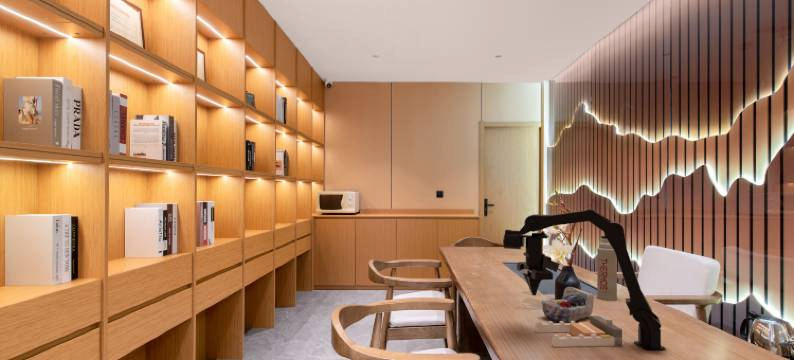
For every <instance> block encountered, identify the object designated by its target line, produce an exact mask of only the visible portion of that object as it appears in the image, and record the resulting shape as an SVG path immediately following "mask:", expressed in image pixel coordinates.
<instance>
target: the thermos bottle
mask: <svg viewBox="0 0 794 360" xmlns="http://www.w3.org/2000/svg"><path fill="white" fill-rule="evenodd" d="M600 238H601V239H600V241H599V243H598V247H597V249H596V251H597V253H596V256H597V257H596V258H597V260H596V261H597V264H596V265H597V266H596V268H597V269H596V271H597V273H596V274H597V283H596V286H597V287H596V289H597V292H596V293H597V294H596V295H597V299H599V300H603V301H617V300H618V259H617V256H616V253H615V251H614V249H613V248H612V246H611V245H610V243H609V241H608V239H607V237H606V236H605V235H601V236H600Z"/></svg>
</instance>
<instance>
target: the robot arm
mask: <svg viewBox="0 0 794 360" xmlns="http://www.w3.org/2000/svg"><path fill="white" fill-rule="evenodd" d="M584 222H589V223H591V224H592V225H594V226H595V227H597V228H598V229H599V230H601V232H603V233H604V236H606V237H607V239H608V241H609V243H610V245H611V246H612V248H613V249H614V251H615V253H616V256H617V263H618V264H619V268H620V270H621V273H622V278H623V280H624V283H625V285H626V288H627V292H628V294H629V296H628V297H629V298H625V305H626V306H627V308H628V310H629V311H628V312H629V316H632V318H633V320H635V322H637V323H638V325H637V326H638V328H637V336H638V337H637V341H636V340H634V341H633V344H635V345H636V346H639V347H640V348H642V349H644V350H645V351H661V350H663V351H664V350H665V351H666V350H667V348H666V347H665V346H663V345H662V330H661V328H662V324H661V320H660V318H659V316H657V315H656V313H655V312H653V309H652V306H651V305H650V303H649V300H648V299H647V297H646V296H645V294H644V293H643V291H642V288H641V286H640V284H639V279H638V277H637V275H636V274H637V273H636V272H635V269H634V268H635V267H634V265H633V262H632V260H631V257H630V254H629V252H628V249H627V243H626V242H627V241H626V235H625V228H624V226H623V224H621V223H620V222H618V221H616V220H615V221H611V220H610V219H608V218H607V217H606V216H603V215H602V214H600V213H598V212H597V211H596V209H593V208H589V209H587V210H586V209H585V210H579V211H570V212H564V213H556V214H539V213H538V214H535V213H534V214H531V215H528V216H527V217H526V218H525V220H524V223H523V224H524V225H523V226H522V227H521V228H520V230H512V229H504V236H503V240H502V245H503V248H504V249H509V250H521V249H522V247H523V248H524V247H525V252H523V256H525V261H519V262H518V263H517V264H516V270H517V271H519V272H521V271H522V270H524V273H522V276H523V277H524V279H525V282H526V284H527V286H528V289H529V291H530V293H531V295H532V296H537V293H538V289H539V287H540V283H541V281H543V280H544V281H545V280H546V281H549V280H550V281H553V280H554V273H553V272H555V273H557V272H558V269H559V267H560V263H559V262H555V261H553V260H552V257H550V256H548V255H546V254H544V253H543V250H544V249H543V248H544V246H543V244H544V243H543V242H544V241H543V239H545V240H546V239H548V238H549V235H548V234H547V233H546V232H545V229H548V228H550V227H554V226H562V225H569V224H576V223H577V224H578V223H584ZM538 231H541V232H538ZM530 232H531V234H528V233H530ZM552 271H553V272H552Z"/></svg>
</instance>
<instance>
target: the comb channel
mask: <svg viewBox="0 0 794 360" xmlns="http://www.w3.org/2000/svg"><path fill="white" fill-rule="evenodd" d="M589 321H590V322H588V321H578V323H590V324H592V325H594V326H595V327H597V328H598V329H600V330H602V331H603V332H605V333H606V335H600V336H596V335H595V334H591V336H588V337H584V335H582V334H578V337H574V336H572V334H570V323H564V322H563V321H559V323H554V322H553V321H552V320H549V321H548V323H542V322H541V321H536V323H535V332H536V333H569V334H565V336H560V335H558V334H553V336H552V338H551V339H552V340H551V341H552V342H551V343H552V346H553V347H554V348H557V347H558V348H560V347H561V348H562V347H563V348H564V347H565V348H567V347H569V348H570V347H571V348H572V347H574V348H575V347H611V346H612V347H614V346H615V347H616V346H617V347H618V346H621V347H622V346H623V329H622V328H620V327H619V326H617V325H615V324H614V323H613V319H612V318H609V317H608V316H606V315H590V316H589ZM571 323H577V321H576V322H574V321H571Z"/></svg>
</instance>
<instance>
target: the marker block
mask: <svg viewBox="0 0 794 360" xmlns="http://www.w3.org/2000/svg"><path fill="white" fill-rule="evenodd" d="M578 334H582V335H584V337H588V336H591V334H595V335H596V336H600V335H606V333H605V332H603V331H602V330H600V329H598V328H597V327H595V326H594V325H592V324H590V322H588V323H579V322H576V323H570V332H569V335H571V336H572V337H578Z"/></svg>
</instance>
